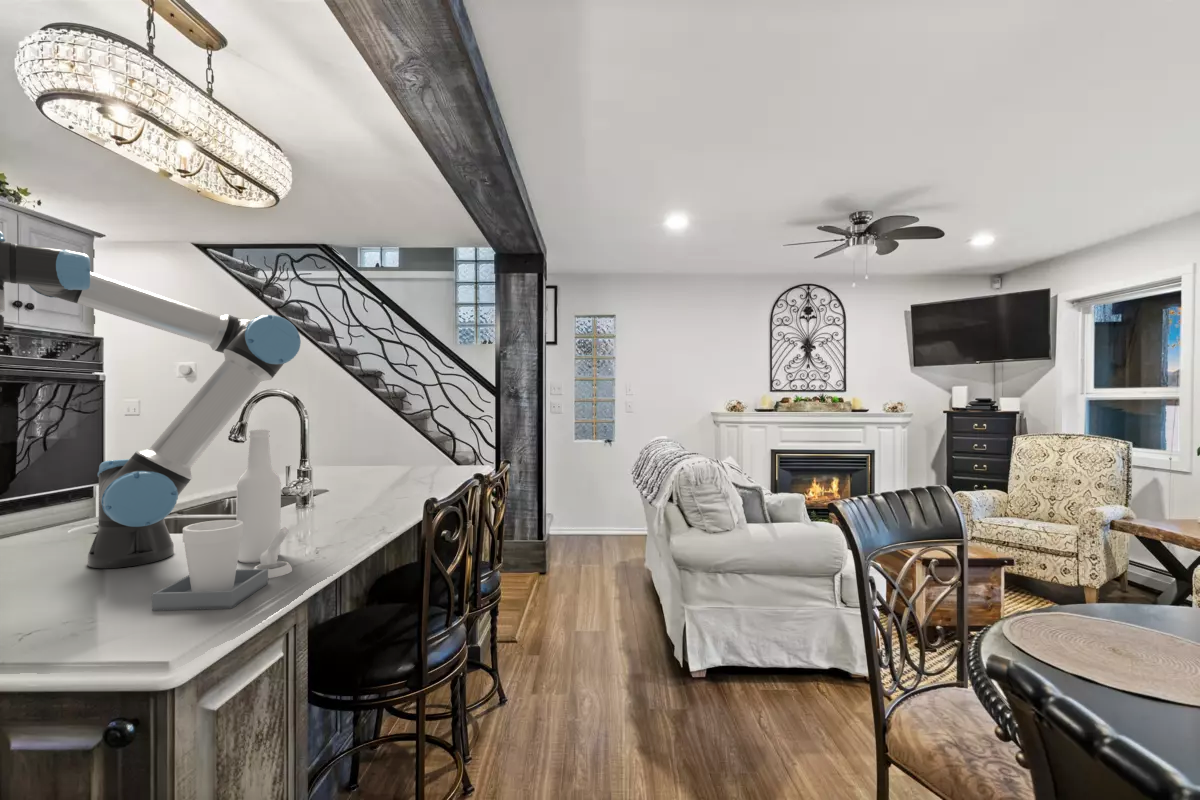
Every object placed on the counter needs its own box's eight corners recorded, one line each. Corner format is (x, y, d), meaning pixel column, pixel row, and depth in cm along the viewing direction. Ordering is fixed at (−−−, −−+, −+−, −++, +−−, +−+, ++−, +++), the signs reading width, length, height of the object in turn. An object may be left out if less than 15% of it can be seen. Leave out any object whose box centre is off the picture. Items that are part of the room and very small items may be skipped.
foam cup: (252, 591, 106) (252, 524, 106) (196, 606, 98) (197, 534, 98) (228, 582, 111) (228, 517, 111) (173, 595, 104) (174, 526, 103)
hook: (300, 554, 115) (270, 537, 114) (271, 597, 117) (240, 580, 115) (316, 537, 122) (287, 521, 121) (287, 578, 124) (259, 562, 123)
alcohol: (231, 565, 124) (232, 431, 123) (241, 554, 132) (241, 429, 132) (276, 561, 127) (277, 430, 127) (283, 551, 135) (284, 428, 135)
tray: (198, 585, 111) (198, 570, 111) (267, 583, 112) (267, 568, 112) (152, 610, 98) (152, 593, 98) (231, 608, 99) (231, 591, 99)
